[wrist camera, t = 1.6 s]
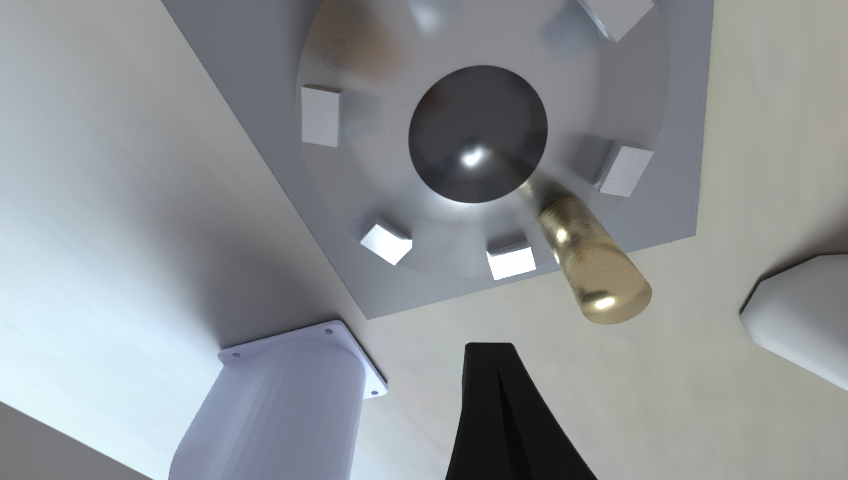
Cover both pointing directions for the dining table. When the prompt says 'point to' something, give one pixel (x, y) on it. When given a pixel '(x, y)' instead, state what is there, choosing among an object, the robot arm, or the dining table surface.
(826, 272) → the flask
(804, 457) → the dining table surface
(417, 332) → the dining table surface
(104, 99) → the dining table surface
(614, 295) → the crank wheel with handle
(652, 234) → the cap plate
